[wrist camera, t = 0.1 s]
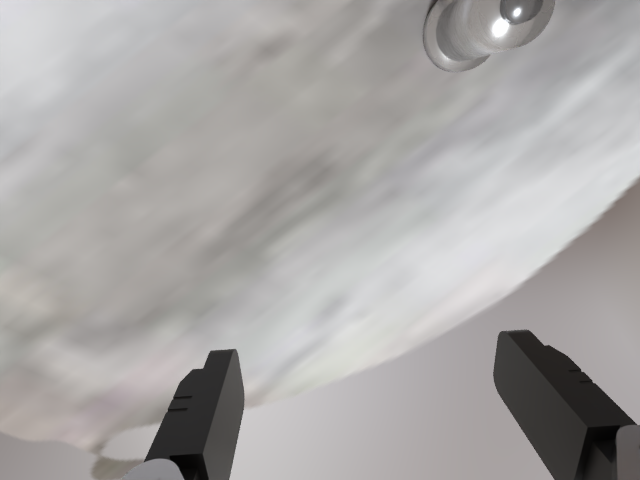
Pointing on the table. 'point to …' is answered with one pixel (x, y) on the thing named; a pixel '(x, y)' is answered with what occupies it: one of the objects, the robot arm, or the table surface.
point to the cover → (481, 29)
